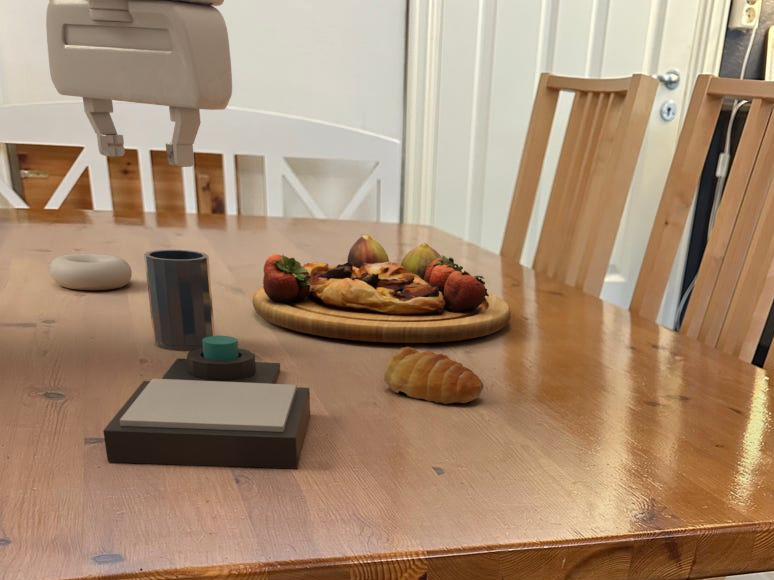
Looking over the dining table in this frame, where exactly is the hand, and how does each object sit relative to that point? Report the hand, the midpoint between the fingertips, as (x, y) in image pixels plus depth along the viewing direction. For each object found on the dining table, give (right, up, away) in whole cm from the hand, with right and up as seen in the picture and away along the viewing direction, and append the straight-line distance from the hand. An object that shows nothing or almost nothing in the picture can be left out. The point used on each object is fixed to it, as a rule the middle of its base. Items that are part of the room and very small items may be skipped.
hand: (146, 161), depth 84 cm
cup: (-1, -12, +15) cm, 19 cm away
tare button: (+6, -17, +4) cm, 18 cm away
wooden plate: (+18, -3, +33) cm, 38 cm away
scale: (+9, -27, -9) cm, 30 cm away
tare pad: (+6, -19, +5) cm, 20 cm away
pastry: (+26, -20, +6) cm, 33 cm away
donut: (-20, +3, +37) cm, 43 cm away
